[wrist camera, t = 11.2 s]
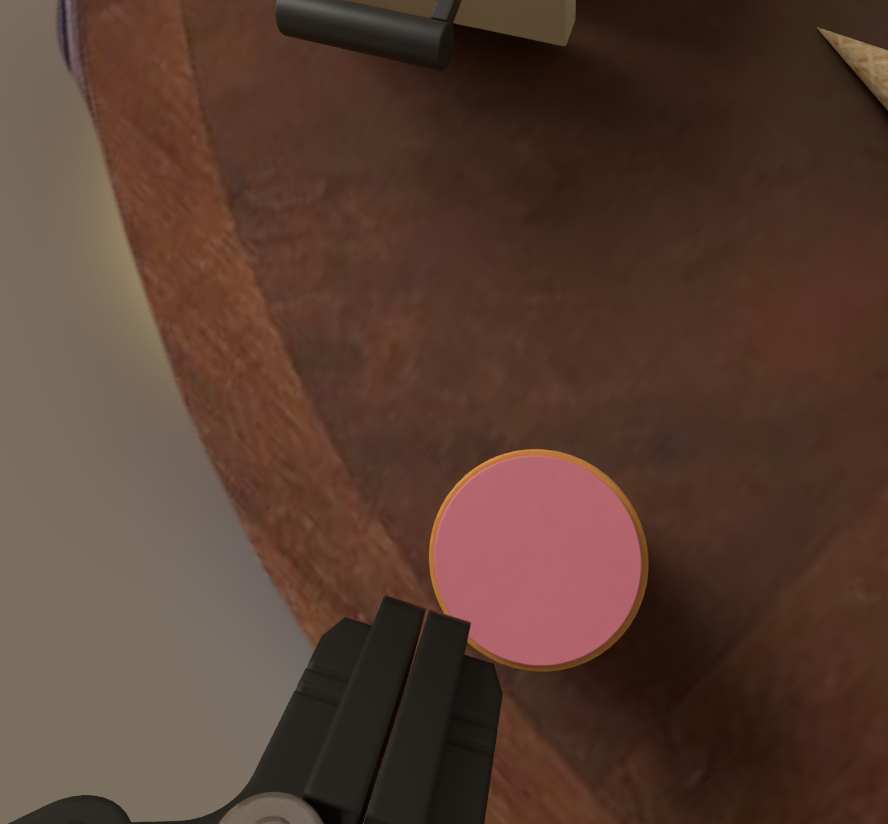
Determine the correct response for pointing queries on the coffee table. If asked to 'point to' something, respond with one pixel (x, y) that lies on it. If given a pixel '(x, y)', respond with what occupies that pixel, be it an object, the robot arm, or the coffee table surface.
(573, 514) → the pink-topped orange cylinder
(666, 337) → the coffee table surface
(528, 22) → the drawer
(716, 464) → the coffee table surface
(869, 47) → the ice cream cone
